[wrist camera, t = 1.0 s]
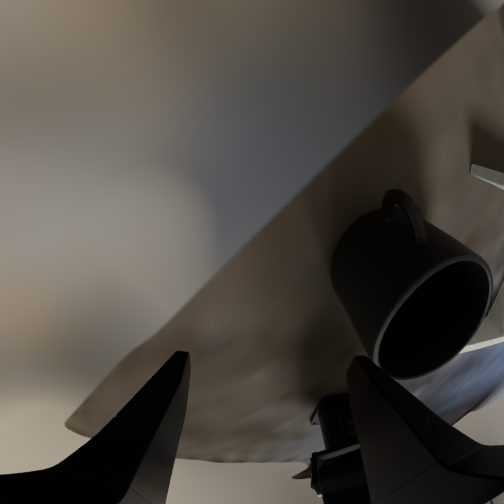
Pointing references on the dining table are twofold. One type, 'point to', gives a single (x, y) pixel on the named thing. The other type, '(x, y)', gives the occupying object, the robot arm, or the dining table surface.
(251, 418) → the dining table surface
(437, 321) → the mug
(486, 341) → the tray
